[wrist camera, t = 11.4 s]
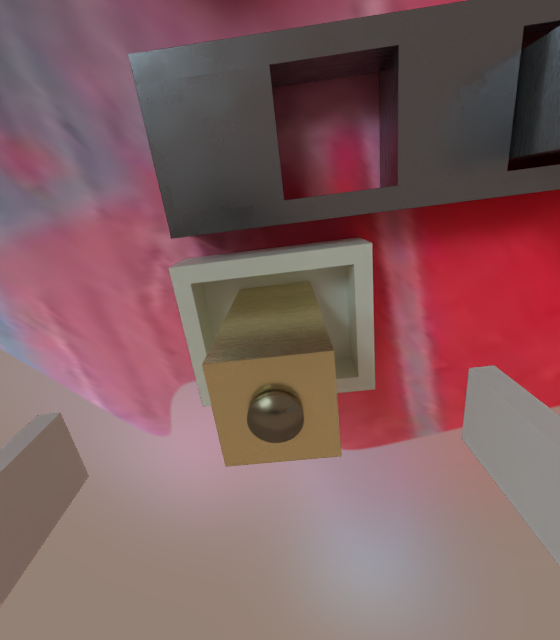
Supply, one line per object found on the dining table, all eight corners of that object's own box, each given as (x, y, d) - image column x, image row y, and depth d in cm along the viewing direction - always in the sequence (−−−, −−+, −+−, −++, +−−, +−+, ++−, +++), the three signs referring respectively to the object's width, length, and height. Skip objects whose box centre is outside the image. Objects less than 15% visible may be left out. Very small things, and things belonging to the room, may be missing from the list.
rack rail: (187, 233, 20) (171, 238, 17) (153, 79, 17) (128, 54, 14) (591, 181, 18) (647, 178, 16) (626, 6, 16) (702, -37, 13)
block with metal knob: (239, 289, 20) (198, 370, 10) (309, 281, 20) (336, 356, 10) (250, 352, 22) (223, 474, 12) (315, 345, 21) (343, 464, 12)
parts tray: (212, 381, 23) (202, 406, 20) (184, 258, 20) (168, 267, 17) (363, 365, 23) (375, 389, 20) (358, 237, 20) (372, 243, 17)
